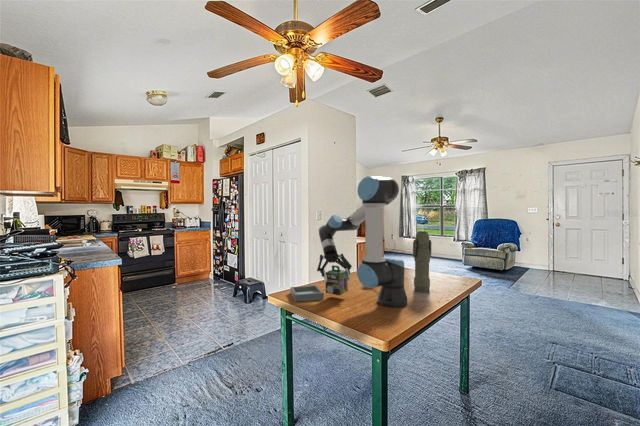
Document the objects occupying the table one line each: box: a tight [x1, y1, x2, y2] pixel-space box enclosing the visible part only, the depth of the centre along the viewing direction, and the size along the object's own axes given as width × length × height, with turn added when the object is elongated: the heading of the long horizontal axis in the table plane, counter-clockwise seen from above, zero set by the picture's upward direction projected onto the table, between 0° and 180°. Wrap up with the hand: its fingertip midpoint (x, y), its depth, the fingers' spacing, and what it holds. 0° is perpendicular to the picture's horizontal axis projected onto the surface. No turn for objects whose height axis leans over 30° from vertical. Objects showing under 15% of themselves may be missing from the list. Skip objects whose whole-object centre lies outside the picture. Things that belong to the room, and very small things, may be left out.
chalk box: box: [325, 264, 349, 296], centre depth 159 cm, size 9×9×15 cm
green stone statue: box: [412, 230, 432, 293], centre depth 174 cm, size 9×12×35 cm
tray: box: [290, 284, 325, 303], centre depth 163 cm, size 15×15×4 cm
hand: (337, 280), depth 156 cm, fingers closed on chalk box, 12 cm apart
